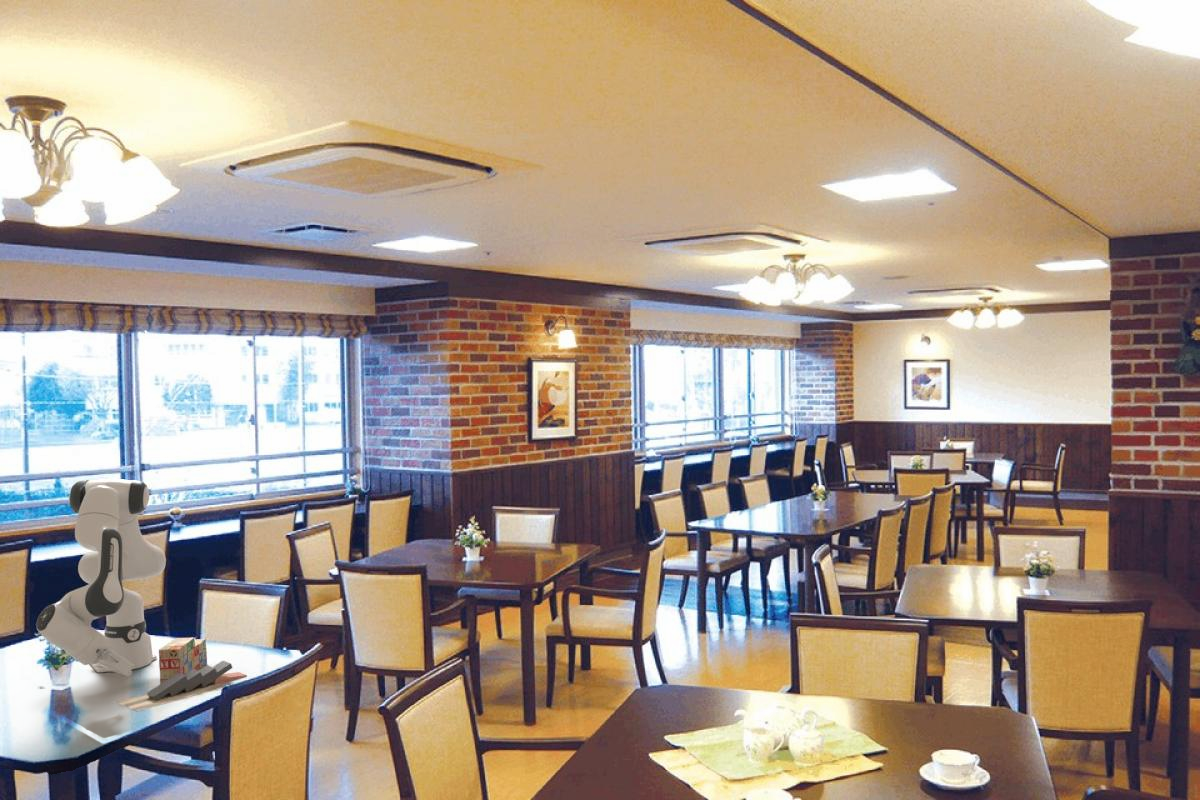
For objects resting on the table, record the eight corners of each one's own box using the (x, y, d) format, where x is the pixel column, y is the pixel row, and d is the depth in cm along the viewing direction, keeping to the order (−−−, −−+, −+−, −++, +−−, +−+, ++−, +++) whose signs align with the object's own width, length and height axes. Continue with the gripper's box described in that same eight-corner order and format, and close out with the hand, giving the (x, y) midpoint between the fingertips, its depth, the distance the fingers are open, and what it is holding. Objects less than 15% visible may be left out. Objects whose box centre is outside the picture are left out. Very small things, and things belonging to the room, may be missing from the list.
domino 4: (201, 683, 286) (230, 663, 293) (193, 679, 290) (222, 660, 297) (203, 687, 287) (232, 667, 294) (195, 684, 290) (224, 664, 297)
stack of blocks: (188, 667, 313) (186, 630, 313) (207, 666, 313) (206, 629, 313) (160, 689, 292) (158, 649, 291) (180, 688, 292) (179, 648, 291)
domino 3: (184, 688, 283) (214, 668, 290) (177, 684, 286) (207, 665, 293) (187, 692, 283) (216, 672, 290) (179, 689, 287) (209, 669, 293)
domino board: (117, 706, 277) (117, 701, 277) (204, 682, 297) (204, 678, 296) (136, 715, 268) (136, 711, 268) (225, 690, 288) (225, 686, 288)
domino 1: (154, 696, 276) (185, 675, 283) (146, 693, 279) (177, 672, 286) (156, 701, 277) (187, 680, 283) (148, 697, 280) (180, 677, 287)
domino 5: (215, 679, 290) (246, 675, 297) (207, 675, 293) (238, 672, 301) (215, 684, 290) (246, 680, 297) (207, 681, 293) (238, 677, 301)
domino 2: (169, 692, 279) (200, 671, 286) (162, 688, 283) (192, 668, 290) (172, 696, 280) (202, 676, 287) (164, 693, 283) (194, 673, 290)
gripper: (114, 643, 260) (152, 670, 268) (84, 632, 274) (121, 658, 281) (98, 664, 257) (137, 690, 264) (68, 651, 270) (106, 677, 278)
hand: (128, 673), depth 273 cm, fingers closed
